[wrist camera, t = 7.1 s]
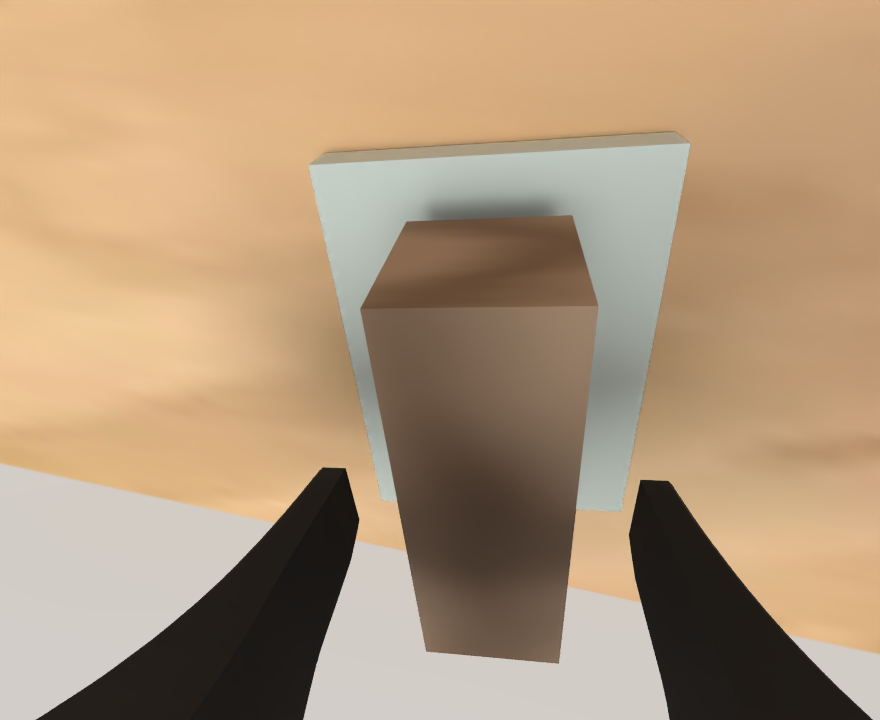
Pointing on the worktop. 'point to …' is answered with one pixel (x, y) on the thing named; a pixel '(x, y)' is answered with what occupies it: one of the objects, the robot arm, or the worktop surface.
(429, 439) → the walnut plank
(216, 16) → the worktop surface
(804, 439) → the worktop surface
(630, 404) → the peg stand
